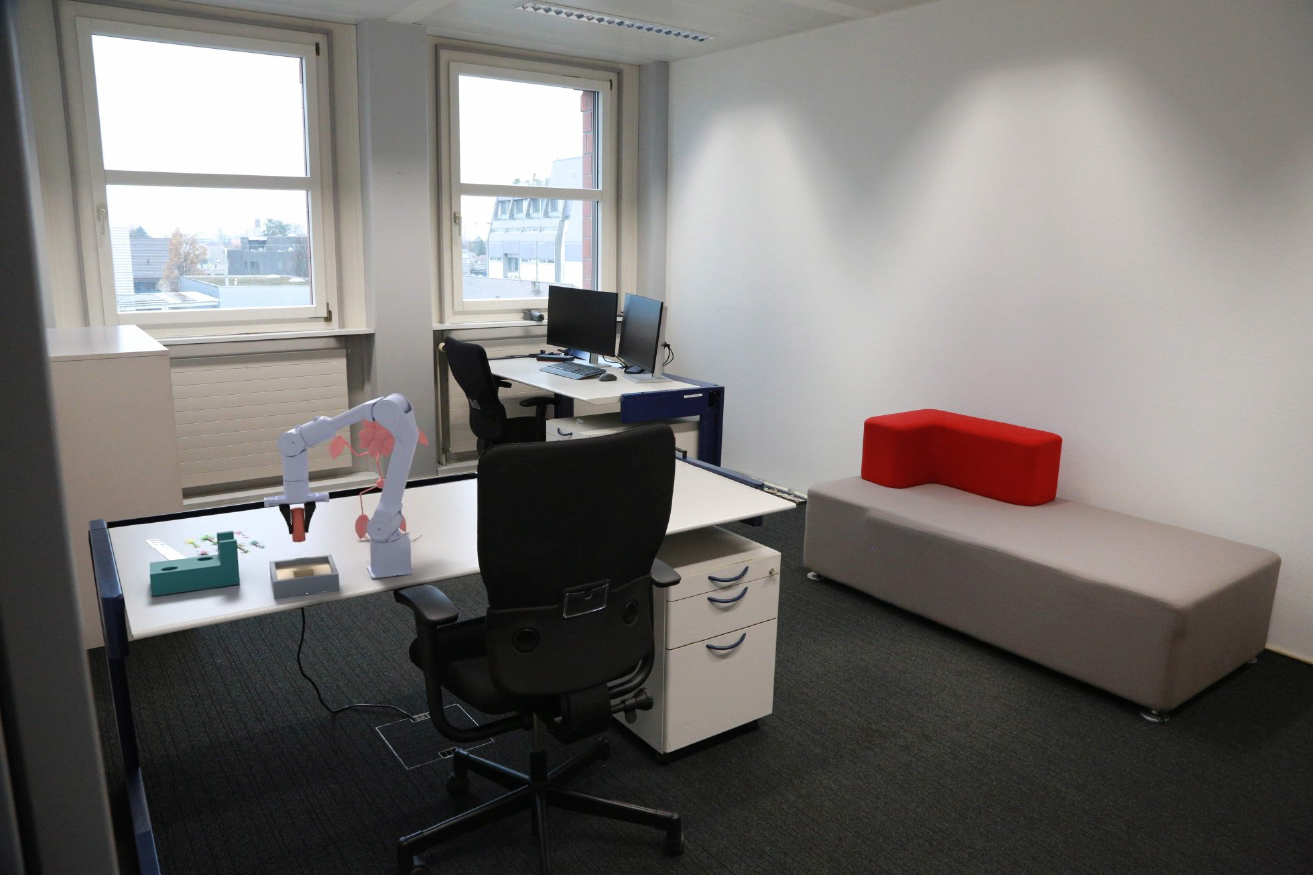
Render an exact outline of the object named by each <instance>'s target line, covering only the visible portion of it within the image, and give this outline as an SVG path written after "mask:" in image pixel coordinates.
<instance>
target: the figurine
mask: <svg viewBox="0 0 1313 875" xmlns="http://www.w3.org/2000/svg"><path fill="white" fill-rule="evenodd" d="M361 422H362V423H361V424H362V425H363V427H364V428H363V429H361V430H360V431H359V432H358V434H357V437H358V438H359V439H360V441H359V443H358V447H359V449H360V450H365V449H367V448H368V451H366V452H363V453H361V454H358V453H357V452H356V451H355V449H354V448H353V447H352V446H351V445H350V444H349V443H348V442H347V440H345V438H344V437H342V434H338V435H337V436H335V437H334V438H332V439H331V441H330V444H329V448H328V453H329V455H330V457H331V459H332V460H335V459H336V458H337V457H339V455H341V454H342V452H343V450H344V448H345V445H346V446H347V447H348V448H349V450H350V451H351V452H352V453H353V454H354V455H355V456H356V457H357V458H361V457H363V456H366V455H369V456H370V457H371V458H376V460H375V463H376V467H377V470H378V474H379V477H380V478H379V479H377V480H376V484H375V486H372V487H370V488H368V489H365V490H364V491H361V492H360V493H359V501H360V508H361V514H360V515H359V516H358V517H357V519H356V521H355V525H354V528H355V529H354V530H355V533H356V535H357V536H358V538H359V539H360V540H361V539H363V538H364V536H366V535H367V534H368V533H367V530H366V527H367V523H368V522H369V520H370V519H369V516H368V515H367V514H365V513H364V507H363V506H364V505H363V499H362V494H364V493H366V492H368V491H370V490H373V489H375V488H378V489H383V487H384V483H385V479H386V478H383V476H382V472H381V468H380V464H379V461H380V460H379V459H380V455H381V456H383V457H385V458H386V457H388V456H390V453H391V452H393V449H394V445H395V441H396V440H395V438H394V437H393V435H392V434H391V433H390V431H388V430H387V429H386V428H384V427H383V426H381V425H380V424H379V423H378V422H377V421H376V420H375V421H374V422H370V421H367V420H361ZM418 431H419V438H418V441H417V443H419V444H422V445H424V446H427V447H429V440H428V437H427V436H426V435H425V433H424V432H423V431H422V430H421V429H420V428H418ZM402 516H403V521H402V524H401V526H400V527H399V528H398V529H400V531H403V532H404V533H406V532H407V521H406V518H405V516H404V515H403V514H402ZM420 536H421V537H422V534H421V535H420ZM420 536H418V537H417V538H415V539H413V542H415V541H417V539H419V538H420ZM411 542H412V540H410V543H411Z"/></svg>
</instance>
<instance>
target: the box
mask: <svg viewBox="0 0 1313 875" xmlns="http://www.w3.org/2000/svg"><path fill="white" fill-rule="evenodd" d="M269 576H270V583H271V588H272V593H273V598H274V599H282V598H289V596H290V597H293V596H292V595H298V596H303V595H302V594H305V595H307V594H306V593H313V594H320V593H319V592H321V593H326V592H325V591H329V592H334V591H335V592H336V591H340V574H339V571H338V568H337V565H336V563H335V560H334V557H333V555H332V554H323V555H313V556H305V557H296V558H288V559H278V560H271V561H270V560H269ZM323 591H324V592H323ZM281 597H282V598H281Z"/></svg>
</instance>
